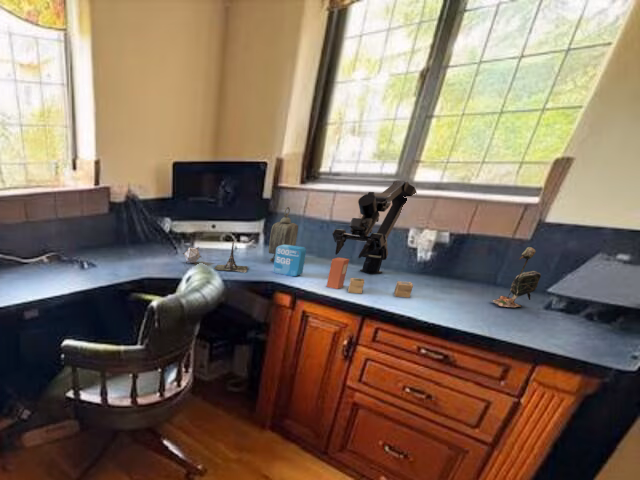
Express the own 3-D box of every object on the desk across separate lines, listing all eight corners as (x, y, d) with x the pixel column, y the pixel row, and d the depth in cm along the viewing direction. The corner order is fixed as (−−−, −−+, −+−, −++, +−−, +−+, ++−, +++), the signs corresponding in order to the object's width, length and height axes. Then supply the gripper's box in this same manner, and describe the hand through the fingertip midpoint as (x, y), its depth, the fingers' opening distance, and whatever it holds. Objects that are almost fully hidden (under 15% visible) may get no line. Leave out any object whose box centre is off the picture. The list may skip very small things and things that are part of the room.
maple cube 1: (347, 289, 166) (350, 277, 164) (360, 290, 165) (363, 278, 162) (348, 292, 163) (351, 280, 160) (361, 293, 161) (364, 281, 159)
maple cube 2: (393, 293, 161) (397, 281, 158) (407, 294, 159) (411, 282, 157) (395, 296, 157) (398, 284, 155) (409, 297, 155) (413, 285, 153)
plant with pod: (534, 310, 140) (563, 249, 131) (493, 307, 144) (519, 247, 134) (524, 303, 147) (550, 244, 137) (485, 300, 151) (508, 242, 141)
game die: (194, 270, 213) (208, 254, 209) (188, 267, 206) (201, 250, 202) (183, 259, 216) (195, 243, 212) (176, 256, 209) (189, 239, 204)
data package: (272, 272, 192) (276, 245, 186) (277, 270, 194) (281, 243, 188) (297, 277, 184) (301, 249, 178) (302, 275, 186) (307, 247, 180)
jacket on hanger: (276, 256, 219) (283, 205, 207) (293, 258, 215) (302, 206, 202) (266, 262, 209) (273, 208, 197) (284, 264, 204) (293, 209, 192)
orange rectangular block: (331, 284, 173) (337, 257, 167) (343, 286, 170) (349, 259, 164) (326, 286, 170) (332, 259, 165) (337, 289, 167) (343, 261, 162)
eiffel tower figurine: (248, 267, 201) (252, 238, 194) (245, 272, 193) (249, 242, 186) (217, 265, 206) (219, 237, 199) (213, 270, 198) (215, 241, 191)
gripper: (339, 207, 168) (320, 240, 167) (389, 211, 156) (368, 246, 155) (344, 226, 176) (326, 257, 176) (392, 231, 164) (372, 264, 163)
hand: (347, 255), depth 167 cm, fingers open, 9 cm apart
